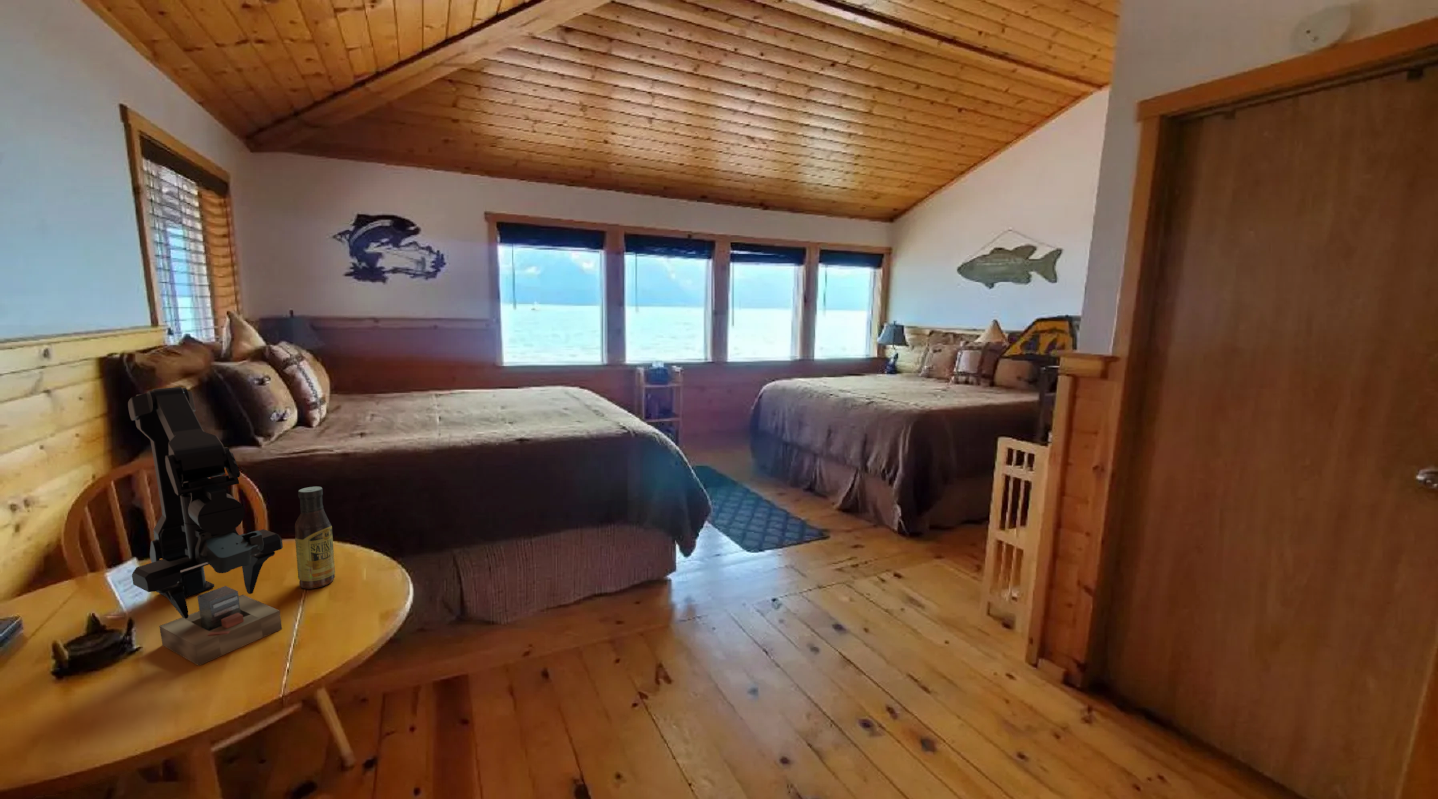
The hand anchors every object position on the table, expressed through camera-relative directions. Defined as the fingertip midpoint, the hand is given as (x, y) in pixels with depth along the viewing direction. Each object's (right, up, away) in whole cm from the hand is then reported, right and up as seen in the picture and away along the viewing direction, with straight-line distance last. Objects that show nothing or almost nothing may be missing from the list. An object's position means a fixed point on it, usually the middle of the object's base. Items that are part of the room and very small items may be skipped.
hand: (219, 605), depth 101 cm
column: (0, -6, +1) cm, 6 cm away
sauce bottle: (+3, -3, +20) cm, 21 cm away
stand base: (0, -6, +1) cm, 6 cm away
